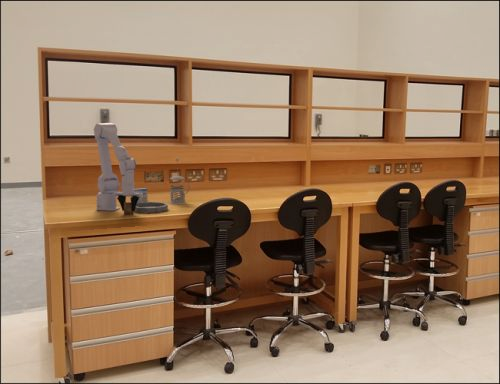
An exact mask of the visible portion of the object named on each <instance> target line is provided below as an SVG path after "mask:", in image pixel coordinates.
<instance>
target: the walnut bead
mask: <svg viewBox="0 0 500 384" xmlns="http://www.w3.org/2000/svg"><path fill="white" fill-rule="evenodd" d="M132 215H134V212H132V204H131V200H130V201H126V202H124V211H123V216H132Z"/></svg>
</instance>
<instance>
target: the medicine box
mask: <svg viewBox="0 0 500 384" xmlns="http://www.w3.org/2000/svg"><path fill="white" fill-rule="evenodd" d="M134 192H139V193H143V197H139V200H138V202H137V203H140V202H149V200H148V197H149V196H148V188H145V187H144V188H143V187H141V188H140V187H139V188H134Z"/></svg>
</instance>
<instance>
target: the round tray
mask: <svg viewBox="0 0 500 384" xmlns="http://www.w3.org/2000/svg"><path fill="white" fill-rule="evenodd" d="M168 206H169V205H168V203H166V202H161V201H148V202H140V203H137V204H136V208H135V211H134V212H133V213H140V214H154V213H155V214H156V213H162V212H166V211H167V210H168V209H169V207H168Z"/></svg>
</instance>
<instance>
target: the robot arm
mask: <svg viewBox="0 0 500 384" xmlns="http://www.w3.org/2000/svg"><path fill="white" fill-rule="evenodd" d="M93 134H94V141H96V142H97V149H98V155H99V157H98V158H99V162H100V170H101V175H99V176H98V178H97V189H98V191H99V192H98V193H97V195H96V209H95V210H96V211H109V212H113V211H116V210H119V209H120V208H121V211H122V212H124V202H127V197H130V199H129V200H130V202H131V204H132V212H133V213H135V212H134V211H135V208H136V204H137V202H138V200H139V197H143V193H139V192H134V189H135V175H134V173H135V170H136V168H137V162H136V160H135V158H133V157H132V156H130V154H129V152H128V151H127V149H126V147H125V146H123V145H122V143H121V142H120V138H119V136H118V127H117V126H116V124H115V123H114V122H113V123H100V122H99V123H98V122H97V123H96V124H95V126H94V127H93ZM109 142H110V143H111V145H112V146H113V148H114V151H113V152H114V155H115V157H116V159H117V160H118V162H119V164H118V167H119V170H120V175H121V183H120V181H119V178H118V176H117V175H116V174H115V173H113V168H112V161H111V155H110V154H111V153H110V149H109ZM120 187H121V191H119V190H120ZM117 200H118V202H119V205H120V207H119V206H118V205H117V204H118V203H117Z"/></svg>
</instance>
